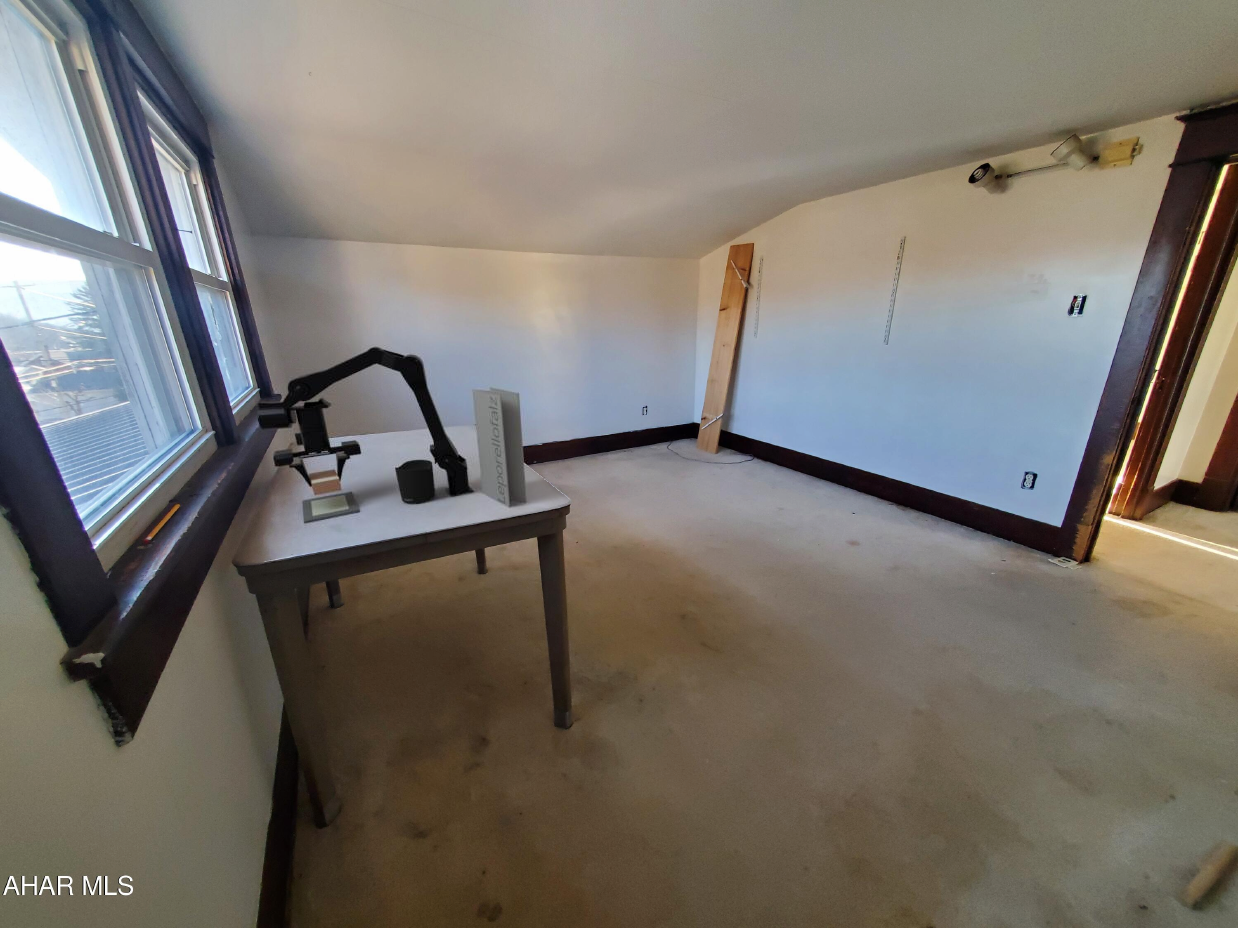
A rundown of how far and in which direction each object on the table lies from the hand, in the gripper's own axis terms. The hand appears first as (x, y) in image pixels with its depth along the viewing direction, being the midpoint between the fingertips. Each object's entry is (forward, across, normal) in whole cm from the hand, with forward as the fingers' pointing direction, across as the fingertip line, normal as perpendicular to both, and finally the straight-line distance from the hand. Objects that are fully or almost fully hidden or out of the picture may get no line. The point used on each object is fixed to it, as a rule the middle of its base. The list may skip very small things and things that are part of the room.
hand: (325, 483), depth 121 cm
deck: (+1, 0, 0) cm, 1 cm away
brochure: (+7, -41, +20) cm, 46 cm away
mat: (+7, 0, 0) cm, 7 cm away
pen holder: (+7, -21, +7) cm, 23 cm away
